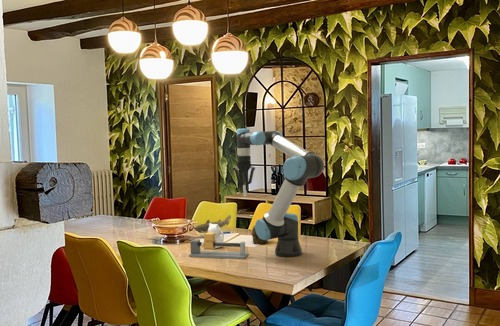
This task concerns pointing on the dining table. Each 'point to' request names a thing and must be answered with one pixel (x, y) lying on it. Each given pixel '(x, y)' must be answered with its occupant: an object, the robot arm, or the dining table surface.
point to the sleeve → (209, 241)
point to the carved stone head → (257, 238)
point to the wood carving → (204, 227)
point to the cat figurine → (216, 233)
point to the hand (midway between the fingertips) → (245, 196)
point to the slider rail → (217, 254)
